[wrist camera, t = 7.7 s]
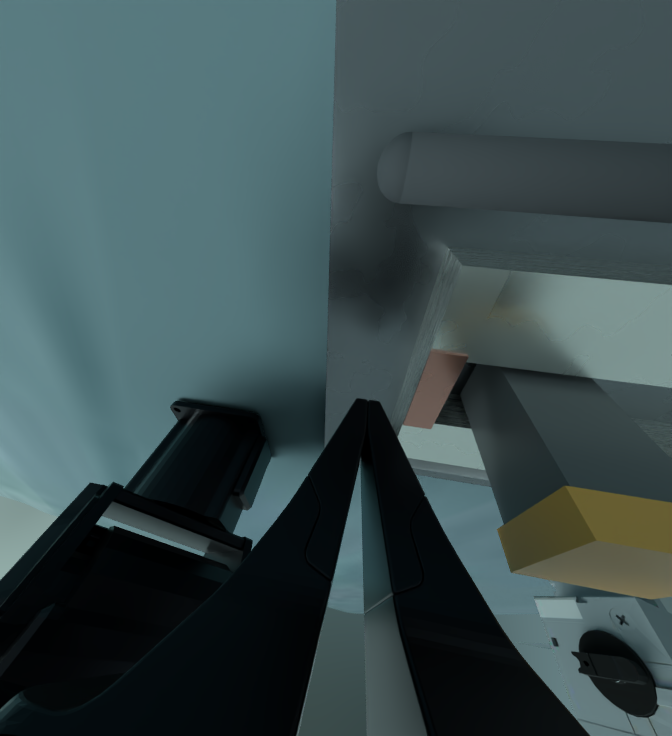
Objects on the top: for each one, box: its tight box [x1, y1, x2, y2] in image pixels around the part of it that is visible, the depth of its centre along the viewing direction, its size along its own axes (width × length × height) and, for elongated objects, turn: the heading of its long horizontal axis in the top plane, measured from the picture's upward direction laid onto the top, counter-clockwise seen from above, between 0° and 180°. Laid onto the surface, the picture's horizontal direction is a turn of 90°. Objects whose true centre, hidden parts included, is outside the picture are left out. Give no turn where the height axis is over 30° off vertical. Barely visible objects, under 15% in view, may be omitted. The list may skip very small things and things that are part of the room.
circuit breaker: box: [534, 580, 672, 736], centre depth 19 cm, size 8×14×15 cm, turn 57°
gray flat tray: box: [360, 132, 672, 480], centre depth 9 cm, size 23×14×1 cm, turn 88°
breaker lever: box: [460, 364, 672, 599], centre depth 8 cm, size 3×3×6 cm
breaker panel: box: [324, 0, 672, 487], centre depth 10 cm, size 26×20×3 cm
